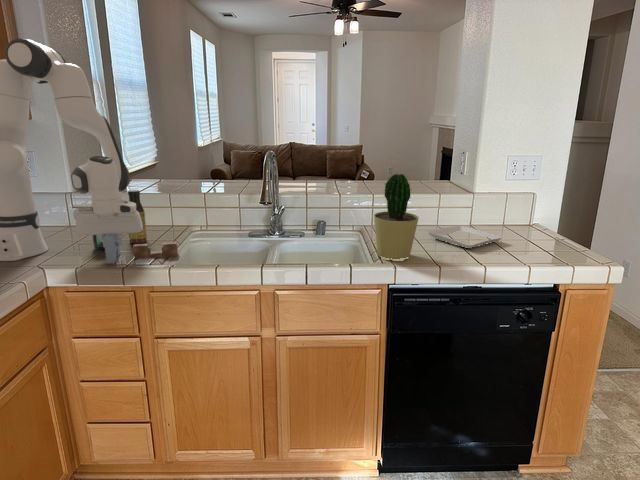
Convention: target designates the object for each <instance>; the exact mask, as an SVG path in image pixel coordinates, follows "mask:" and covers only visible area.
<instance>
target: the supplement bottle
mask: <svg viewBox="0 0 640 480" xmlns="http://www.w3.org/2000/svg"><path fill="white" fill-rule="evenodd" d="M91 236H92V244H93V250H95V251H97V252H98V251H99V252H103V251H104V252H105V247H103V242H102V241H101V240H100V239H99V238H98V235H91ZM104 236H105V234H104ZM104 236H103V237H104Z"/></svg>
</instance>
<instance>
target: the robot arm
mask: <svg viewBox="0 0 640 480" xmlns="http://www.w3.org/2000/svg"><path fill="white" fill-rule="evenodd" d="M4 56H5V58H4V59H0V262H8V261H10V262H11V261H12V262H14V261H15V262H16V261H20V260H23V259H25V258H30V257H34V256H38V255H41V254H43V253H46V252H47V251H48V250H49V247H48V246H47V243H46V241H45V239H44V237H43V234H42V231H41V229H40V227H41V221H40V216H39V214H38V211H37V209H36V205H35V199H34V194H33V187H32V183H31V176H30V171H29V164H28V157H27V146H28V145H27V141H28V134H29V133H28V131H29V119H30V105H31V104H30V103H31V101H30V100H31V89H32V86H33V84H35V83H37V84H40V85H42V84H49V85H50V87H51V91H52V95H53V99H54V105H55V109H56V112H57V114H58V116H59V118H60V120H62V121H63V122H64V123H65V124H67V126H68V125H69V126H70V127H72V128H75V129H76V130H81V131H82V132H86V133H88V134H91V135H92V136H94V137H95V138H96V139H97V140H98V142H99V143H100V146H101V149H102V151H103V154H104V155H96V156H91V157H89V158H88V159H87V162H86V163H85V164H84V163H83V164H82V165H79V166H76V167H75V168H74V169H73V170H72V171H71V175H70V180H71V183H72V184H71V185H72V188H73V189H74V190H75V191H76V192H78V193H80V194H81V195H91V198H90V199H91V206H89V207H88V206H87V207H77V208H76V209H74V211H73V219H74V220H75V232H76V234H77V235H78V236H80V237H83V236H84V237H85V236H92V235H98V238H99V239H100V240H101V241H102V242H103V247H105V246H104V239H103V236H104V234H118V237H119V240H116V241H115V244H116V246H120V247H121V246H122V239H123V237H124V234H129V233H139V232H141V231H142V229H143V226H142V220H141V216H140V214H139V212H138V211H137V210H136V203H134V202H130V201H129V200H125V199H122V195H121V193H120V192H124V191H125V190H126V189H127V187H128V186H129V184H130V183H131V174H130V173H131V172H129V169H128V167H127V165H126V164H125V162H124V159H123V157H122V154H121V151H120V148H119V146H118V143H117V141H116V138H115V135H114V132H113V130H112V128H111V125H110V122H109V121H108V119H107V118H106V117H105V116H103V115H101V113H100V112H99V111H98V109H97V108H96V105H95V103H94V99H93V96H92V95H93V94H92V91H91V88H90V84H89V82H88V80H87V76H86V74H85V72H84V70H83V69H82V68H81V67H80V66H78V65H76V64H73V63H68V62H67V60H66V59H65V58H64V56H63V55H62V54H61V53H60V52H58V51H57V50H55V49H53V48H51V47H49V46H47V45H45V44H43V43H39V42H36V41H34V40H32V39H27V38H15V39H12V40H11V41H9V42H8V43H7V45H6V46H5V49H4Z"/></svg>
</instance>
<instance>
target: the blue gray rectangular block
mask: <svg viewBox="0 0 640 480" xmlns="http://www.w3.org/2000/svg"><path fill="white" fill-rule="evenodd" d="M119 238H120V237H118V234H105V236H104V237H103V239H104V246H105V251H104V252H105V260H106V265H107V264H108V265H109V264H115V263H117V260H118V259H117V256H120V254H121V246H116V244H115V241H116V240H119Z"/></svg>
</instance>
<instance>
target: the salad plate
mask: <svg viewBox="0 0 640 480" xmlns="http://www.w3.org/2000/svg"><path fill="white" fill-rule="evenodd" d="M459 230H460V231H465V232H469V233H472V234H476V235H480V236H484V237H488V238H492V240H487V241H483V242H480V243H477V244H474V245H467V244H463V243H461V242H458V241H455V240H453V239H450V238H447V237H443V236H442V235H446V234H450V233H453V232H456V231H459ZM427 234H428V235H429V236H431V237H432V238H434V239H435V238H436V239H437V240H438V239H440V240H443V241H447V242H450V243H454V244H457V245H461V246H463V247H467V248H471V249H473V248H472V247H475V246H478V245H482V244H486V243H490V242H494V243H496V242H495V241H497V242H499V241H501V240H502V238H503V237H502V236H499V235H497V234H493V233H490V232H486V231H482V230H479V229H475V228H472V227H471V228H470V227H467V226H463V225H455V226H454V225H453V226H450V227H443V228H438V229H433V230H428V231H427ZM440 240H439V241H440ZM490 244H491V243H490ZM475 248H476V247H475Z"/></svg>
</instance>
